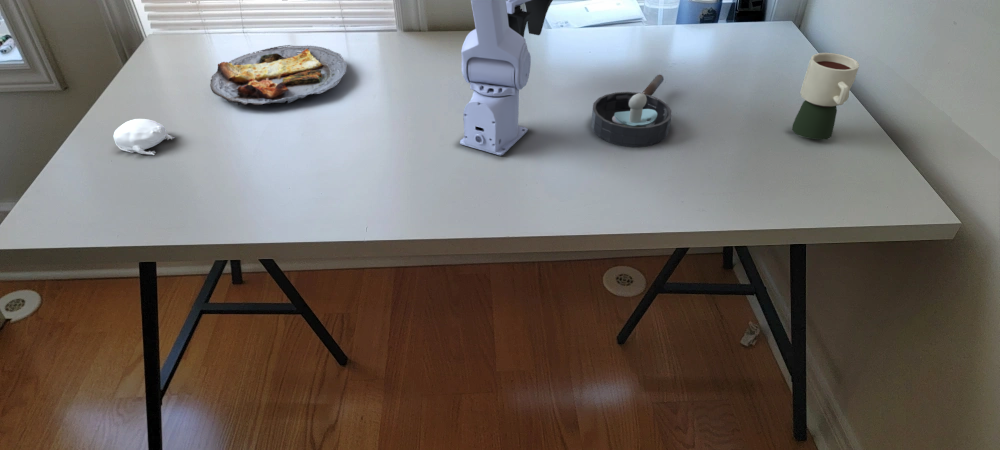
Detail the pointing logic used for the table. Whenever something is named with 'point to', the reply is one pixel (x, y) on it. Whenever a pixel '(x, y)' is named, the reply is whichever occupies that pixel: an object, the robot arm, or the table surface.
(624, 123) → the pacifier
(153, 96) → the table surface
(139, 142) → the white frog figurine
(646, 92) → the pan handle
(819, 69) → the character mug
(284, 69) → the food plate
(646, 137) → the pan
